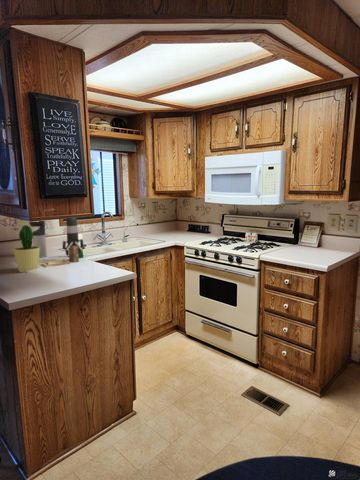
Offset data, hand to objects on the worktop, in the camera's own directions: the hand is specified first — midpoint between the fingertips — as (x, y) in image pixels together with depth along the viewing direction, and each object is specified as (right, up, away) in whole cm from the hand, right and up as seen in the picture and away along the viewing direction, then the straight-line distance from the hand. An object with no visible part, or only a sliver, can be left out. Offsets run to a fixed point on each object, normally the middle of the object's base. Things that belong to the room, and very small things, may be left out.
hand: (73, 254), depth 226 cm
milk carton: (-4, -4, +18) cm, 19 cm away
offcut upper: (-10, -6, -8) cm, 14 cm away
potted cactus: (-22, -10, -21) cm, 32 cm away
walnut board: (0, -5, +1) cm, 5 cm away
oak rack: (-9, -7, -9) cm, 15 cm away
